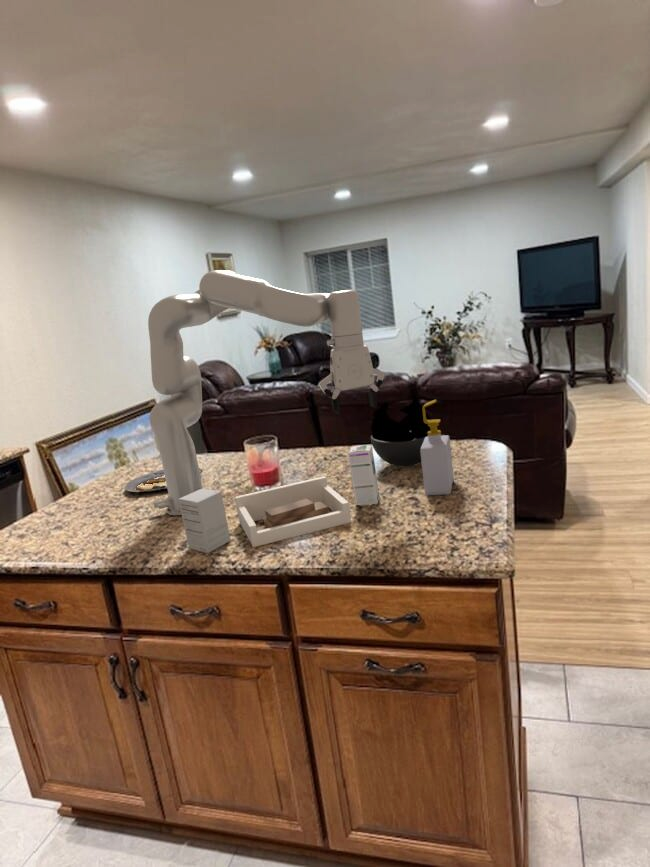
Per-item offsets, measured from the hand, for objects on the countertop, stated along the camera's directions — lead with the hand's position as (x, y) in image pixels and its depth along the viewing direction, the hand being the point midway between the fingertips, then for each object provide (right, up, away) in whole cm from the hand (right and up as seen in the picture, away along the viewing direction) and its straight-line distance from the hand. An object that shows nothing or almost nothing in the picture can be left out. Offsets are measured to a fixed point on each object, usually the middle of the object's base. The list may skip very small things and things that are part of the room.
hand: (355, 410), depth 151 cm
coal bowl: (+17, -16, +31) cm, 38 cm away
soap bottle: (+23, -20, +8) cm, 31 cm away
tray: (-16, -28, -2) cm, 32 cm away
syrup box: (+3, -24, +5) cm, 24 cm away
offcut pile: (-15, -29, -5) cm, 33 cm away
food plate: (-61, -23, +49) cm, 82 cm away
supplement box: (-35, -32, -9) cm, 48 cm away
